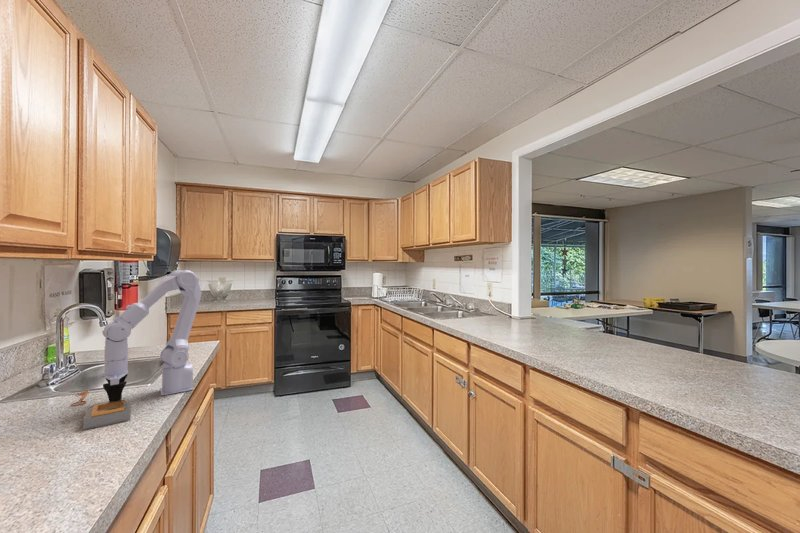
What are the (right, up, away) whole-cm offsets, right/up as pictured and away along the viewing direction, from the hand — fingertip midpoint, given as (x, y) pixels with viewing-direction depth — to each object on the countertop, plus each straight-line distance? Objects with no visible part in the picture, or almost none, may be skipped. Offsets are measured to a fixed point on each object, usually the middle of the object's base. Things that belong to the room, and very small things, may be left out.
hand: (115, 400), depth 107 cm
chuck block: (+7, -2, -10) cm, 12 cm away
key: (-17, -2, +5) cm, 17 cm away
